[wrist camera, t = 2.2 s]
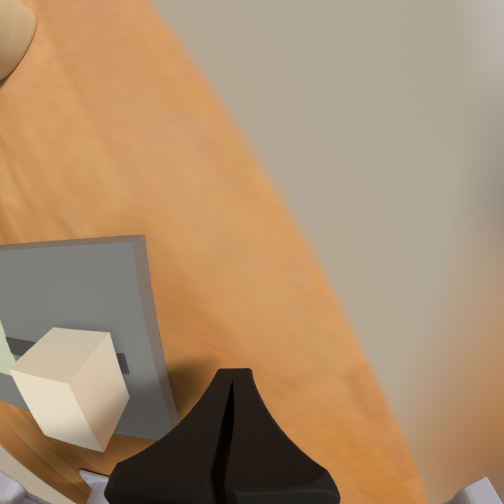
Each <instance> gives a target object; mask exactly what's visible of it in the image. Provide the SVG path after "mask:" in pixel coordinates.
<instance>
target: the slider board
mask: <svg viewBox="0 0 504 504" xmlns="http://www.w3.org/2000/svg"><path fill="white" fill-rule="evenodd" d="M53 327H56V328H66V329H76V330H87V331H99V332H110V335H111V339H112V343H113V346H114V350H115V353H116V357H117V360H118V363H119V367H120V370H121V373H122V376H123V379H124V382H125V385H126V388H127V391H128V394H129V397H130V398H129V400H128V402H127V404H126V407H125V409H124V411H123V413H122V415H121V417H120V419H119V421H118V423H117V425H116V427H115V430H114V432H113V434H118V435H124V436H129V437H136V438H142V439H149V440H157V441H159V440H160V439H161V438H162V437H164V436H165V435H166V434H167V433H169V432H170V431H171V430H172V429H173V428H174V427H176V426H177V425H178V424H179V423H180V419H179V415H178V412H177V408H176V404H175V400H174V396H173V393H172V389H171V384H170V380H169V376H168V372H167V368H166V363H165V359H164V354H163V349H162V344H161V340H160V335H159V329H158V324H157V319H156V313H155V307H154V301H153V295H152V289H151V282H150V276H149V269H148V261H147V253H146V245H145V236H144V235H133V236H117V237H101V238H87V239H73V240H60V241H47V242H35V243H23V244H12V245H1V246H0V400H2V401H5V402H7V403H10V404H12V405H15V406H17V407H20V408H23V409H25V410H28V411H30V410H29V408H28V406H27V404H26V402H25V401H24V399H23V397H22V395H21V393H20V391H19V389H18V387H17V385H16V383H15V381H14V379H13V377H12V375H11V372H10V370H9V368H10V367H11V366H12V365H13V364H14V363H15V362H16V361H17V360H18V359H20V358H21V357H22V356H23V355H24V354H25V353H26V352H27V351H28V350H29V349H30V348H31V347H32V346H33V345H34V344H36V343H37V342H38V341H39V340H40V339H41V338H42V337H43V336H44V335H45V334H46V333H48V332H49V331H50V330H51V329H52V328H53Z"/></svg>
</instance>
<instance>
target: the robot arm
mask: <svg viewBox="0 0 504 504" xmlns="http://www.w3.org/2000/svg"><path fill="white" fill-rule="evenodd" d="M79 474H80V475H81V476H82V478H83V479H84V480H85V482H86V483H87V484H88V485H89V487H90V488H91V489H92V491H91V493H90V495H89V498H88V500H87V503H86V504H339V503H340V494H339V491H338V489H337V486H336V484H335V482H334V480H333V479H332V477H331V475H330V474H329V472H328V471H327V470H326V469H325V468H323V467H322V466H320V465H319V464H317V463H316V462H315V461H313V460H312V459H311V458H310V457H308V456H307V455H306V454H305V453H304V452H302V451H301V450H300V449H299V448H298V447H297V446H296V445H295V444H294V443H293V442H292V441H291V440H290V439H289V438H288V437H287V435H286V434H285V433H284V432H283V431H282V430H281V428H280V427H279V426H278V424H277V423H276V422H275V420H274V419H273V417H272V416H271V414H270V413H269V411H268V409H267V408H266V406H265V404H264V402H263V401H262V398H261V396H260V394H259V392H258V390H257V388H256V385H255V382H254V379H253V374H252V370H251V369H250V368H235V369H219V370H218V371H217V373H216V375H215V376H214V378H213V380H212V382H211V383H210V385H209V387H208V388H207V390H206V391H205V393H204V394H203V395H202V397H201V398H200V400H199V401H198V402H197V404H196V405H195V406H194V407H193V408H192V410H191V411H190V412H189V413H188V414H187V415H186V417H185V418H184V419H183V420H182V421H181V422H180V423H179V424H178V425H177V426H176V427H174V428H173V429H172V430H171V431H170V432H169V433H167V434H166V435H165V436H164V437H162V438H161V439H160V440H159V441H157V442H156V443H154V444H153V445H151V446H150V447H148V448H146V449H145V450H143V451H142V452H140V453H138V454H136V455H134V456H132V457H130V458H128V459H126V460H124V461H122V462H119V463H117V465H116V466H115V468H114V470H113V471H112V473H111V475H110V477H106V476H102V475H98V474H95V473H91V472H88V471H84V470H80V472H79ZM0 504H51V503H49V502H47V501H45V500H43V499H41V498H39V497H37V496H34V495H33V494H30V493H29V492H27V490H26V489H25V488H24V487H23V486H22V485H21V484H20V483H19V482H18V481H16V480H15V479H13V478H11V477H10V476H8V475H6V474H4V473H3V472H1V471H0ZM443 504H502V502H501V500H500V499H499V497H498V495H497V494H496V492H495V490H494V489H493V487H492V485H491V483H490V482H489V480H488V478H487V477H483V478H481V479H479V480H477V481H475V482H473V483H472V484H470V485H468V486H466V487H464V488H462V489H461V490H460V491H458V492H457V493H456V494H455V495H454V497H453V498H452V500H450V501H448V502H446V503H443Z"/></svg>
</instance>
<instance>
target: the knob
mask: <svg viewBox="0 0 504 504" xmlns="http://www.w3.org/2000/svg"><path fill="white" fill-rule="evenodd" d="M9 370H10V372H11V375H12V377H13V379H14V381H15V383H16V385H17V387H18V389H19V391H20V393H21V395H22V397H23V399H24V401H25V402H26V404H27V406H28V408H29V410H30V412H31V413H32V415H33V417H34V418H35V420H36V422H37V424H38V425H39V427H40V428H41V430H42V432H43V433H44V435H46V436H49V437H51V438H54V439H57V440H60V441H64V442H67V443H70V444H73V445H77V446H80V447H84V448H88V449H91V450H95V451H99V452H104V451H105V449H106V447H107V445H108V442H109V440H110V438H111V436H112V434H113V432H114V430H115V427H116V425H117V423H118V421H119V419H120V417H121V415H122V413H123V411H124V409H125V407H126V404H127V402H128V400H129V398H130V397H129V394H128V391H127V388H126V385H125V382H124V379H123V376H122V373H121V370H120V367H119V363H118V360H117V357H116V353H115V350H114V346H113V343H112V339H111V335H110V332H99V331H87V330H76V329H66V328H56V327H53V328H52V329H51V330H50V331H49V332H48V333H46V334H45V335H44V336H43V337H42V338H41V339H40V340H39V341H38V342H37V343H36V344H34V345H33V346H32V347H31V348H30V349H29V350H28V351H27V352H26V353H25V354H24V355H23V356H22V357H21V358H20V359H18V360H17V361H16V362H15V363H14V364H13V365H12V366H11V367H10V368H9Z"/></svg>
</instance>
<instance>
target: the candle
mask: <svg viewBox="0 0 504 504" xmlns="http://www.w3.org/2000/svg"><path fill="white" fill-rule="evenodd" d="M36 26H37V17H36V14H35V13H34V11H33V10H32V9H30V8H29V7H27V6H26V5H24V4H22V3H21V2H19V1H17V0H0V81H1V80H2V79H4V78H5V77H6V76H8V75H9V74H10V73H11V72H12V71H13V69H14V68H15V67H16V66H17V65H18V63H19V62H20V61H21V59H22V58H23V56H24V55H25V53H26V51H27V49H28V48H29V46H30V44H31V41H32V39H33V37H34V34H35V30H36Z"/></svg>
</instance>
